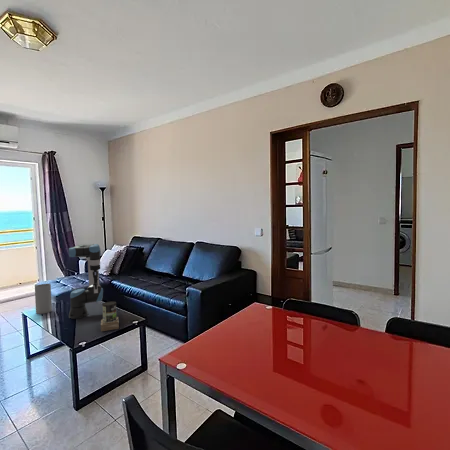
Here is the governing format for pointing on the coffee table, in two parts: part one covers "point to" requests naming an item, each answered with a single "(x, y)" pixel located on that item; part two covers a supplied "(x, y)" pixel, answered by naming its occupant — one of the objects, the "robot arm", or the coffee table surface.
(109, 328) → the beech block
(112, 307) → the coffee can
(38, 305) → the cylinder vase
